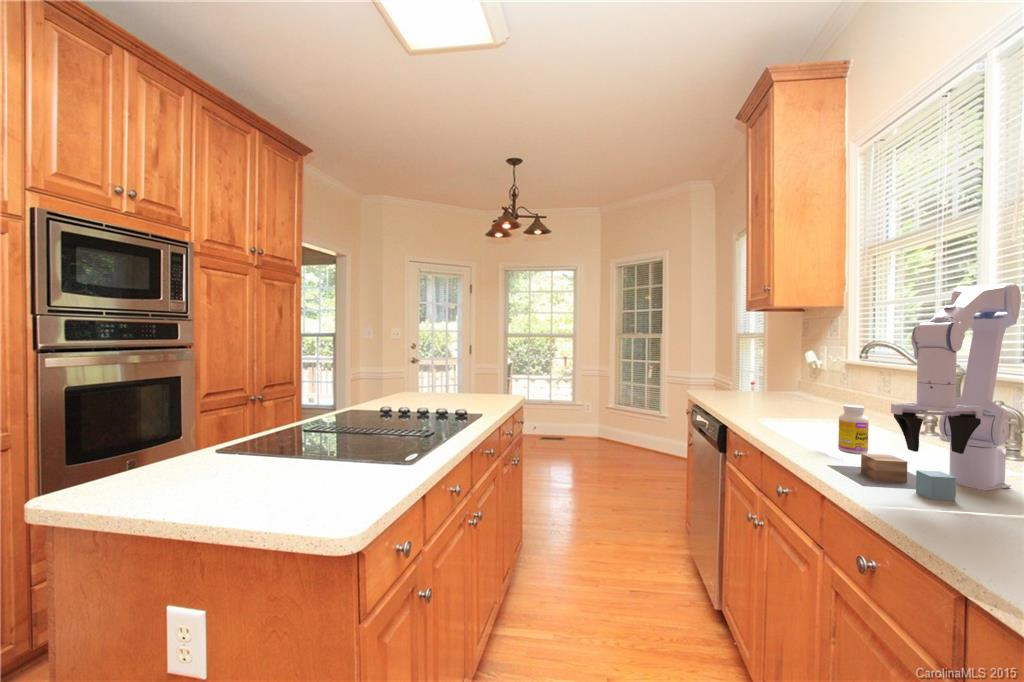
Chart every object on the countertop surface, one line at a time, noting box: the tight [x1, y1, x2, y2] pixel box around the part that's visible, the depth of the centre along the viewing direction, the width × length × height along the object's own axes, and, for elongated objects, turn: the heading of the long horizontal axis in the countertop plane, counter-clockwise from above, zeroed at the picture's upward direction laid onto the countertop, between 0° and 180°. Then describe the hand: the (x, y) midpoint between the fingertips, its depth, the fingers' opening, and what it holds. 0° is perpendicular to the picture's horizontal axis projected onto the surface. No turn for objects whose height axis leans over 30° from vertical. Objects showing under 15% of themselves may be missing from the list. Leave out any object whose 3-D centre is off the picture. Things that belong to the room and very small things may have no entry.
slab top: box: [860, 453, 908, 472], centre depth 104 cm, size 6×6×2 cm
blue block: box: [915, 469, 957, 502], centre depth 92 cm, size 4×4×5 cm
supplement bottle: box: [837, 404, 870, 456], centre depth 128 cm, size 7×7×13 cm
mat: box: [826, 464, 916, 490], centre depth 104 cm, size 16×16×1 cm
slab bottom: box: [860, 462, 908, 482], centre depth 104 cm, size 6×6×2 cm
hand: (935, 451), depth 92 cm, fingers open, 7 cm apart
